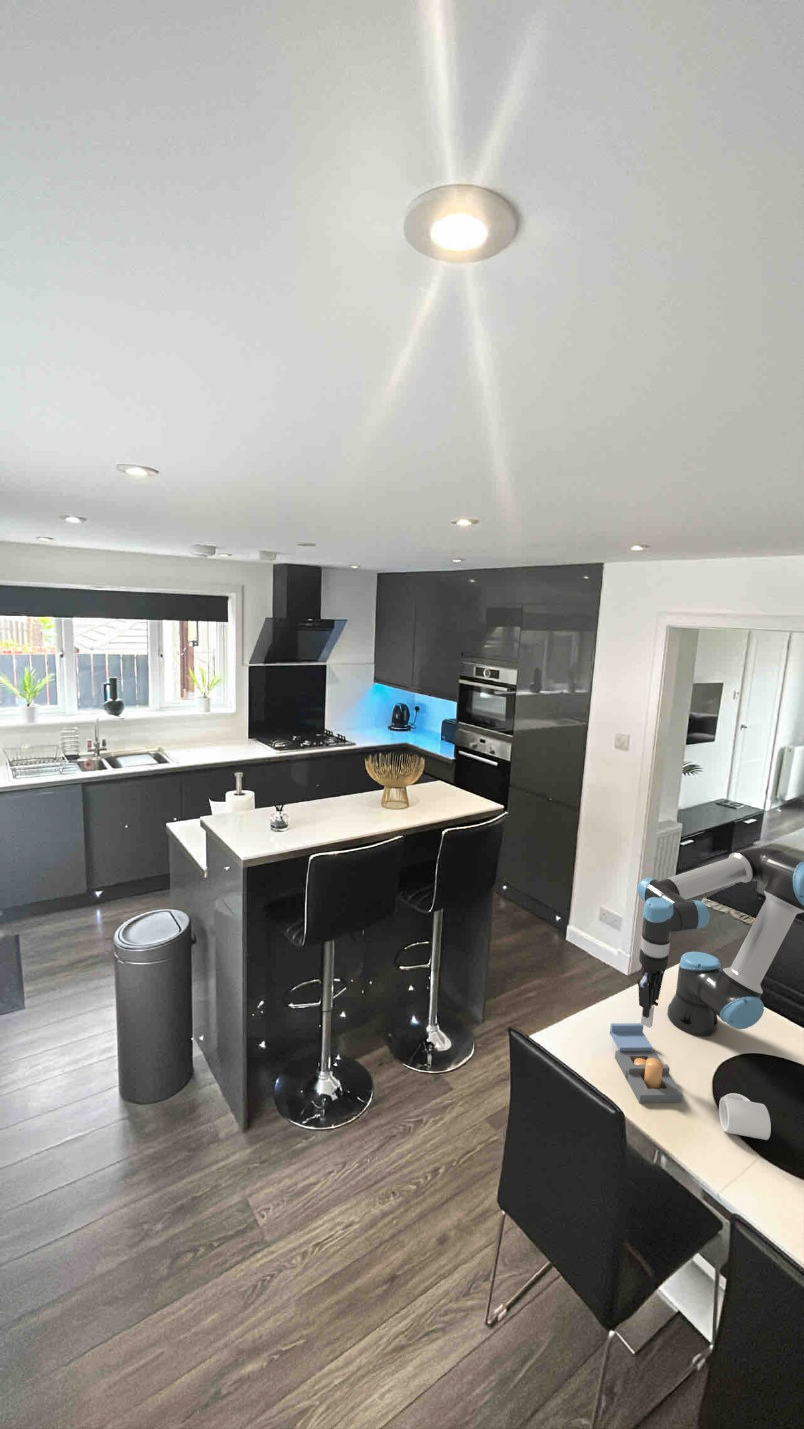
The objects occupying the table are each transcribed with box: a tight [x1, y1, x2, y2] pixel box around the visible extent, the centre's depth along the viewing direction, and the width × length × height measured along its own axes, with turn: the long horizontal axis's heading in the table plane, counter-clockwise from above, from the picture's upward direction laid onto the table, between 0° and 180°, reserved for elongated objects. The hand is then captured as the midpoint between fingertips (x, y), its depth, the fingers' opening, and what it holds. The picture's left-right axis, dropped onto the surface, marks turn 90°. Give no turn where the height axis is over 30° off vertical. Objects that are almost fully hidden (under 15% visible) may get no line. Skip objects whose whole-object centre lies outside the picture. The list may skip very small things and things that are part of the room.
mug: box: [718, 1092, 772, 1141], centre depth 164 cm, size 12×10×8 cm
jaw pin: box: [644, 1058, 664, 1089], centre depth 175 cm, size 4×4×8 cm
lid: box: [609, 1022, 653, 1051], centre depth 190 cm, size 10×8×4 cm
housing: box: [614, 1049, 684, 1104], centre depth 179 cm, size 12×17×4 cm
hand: (646, 1024), depth 182 cm, fingers closed
